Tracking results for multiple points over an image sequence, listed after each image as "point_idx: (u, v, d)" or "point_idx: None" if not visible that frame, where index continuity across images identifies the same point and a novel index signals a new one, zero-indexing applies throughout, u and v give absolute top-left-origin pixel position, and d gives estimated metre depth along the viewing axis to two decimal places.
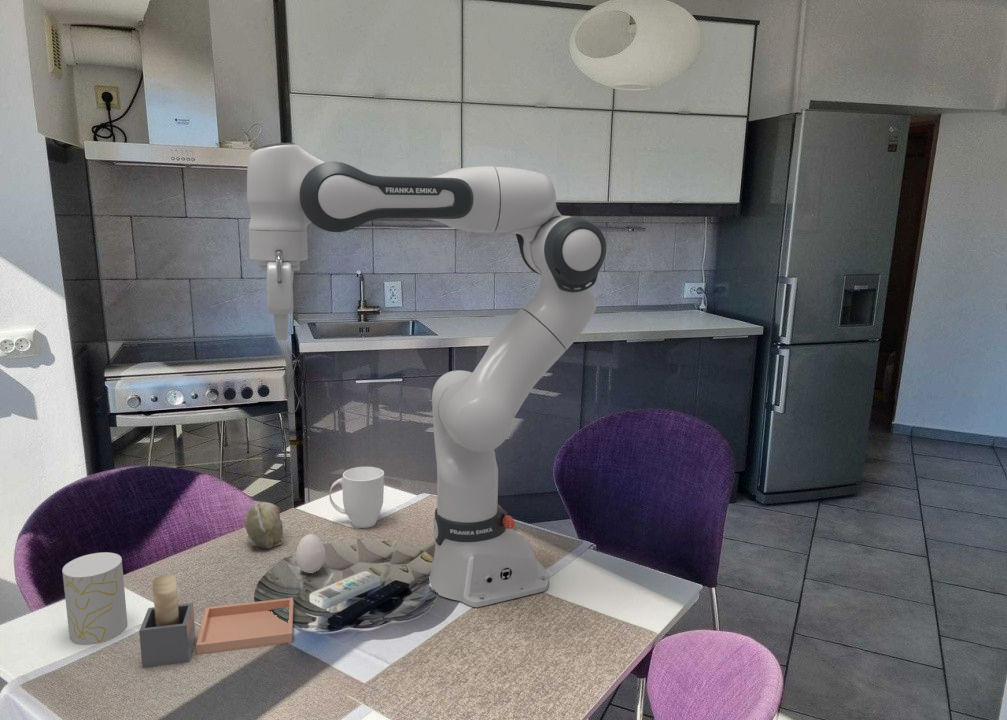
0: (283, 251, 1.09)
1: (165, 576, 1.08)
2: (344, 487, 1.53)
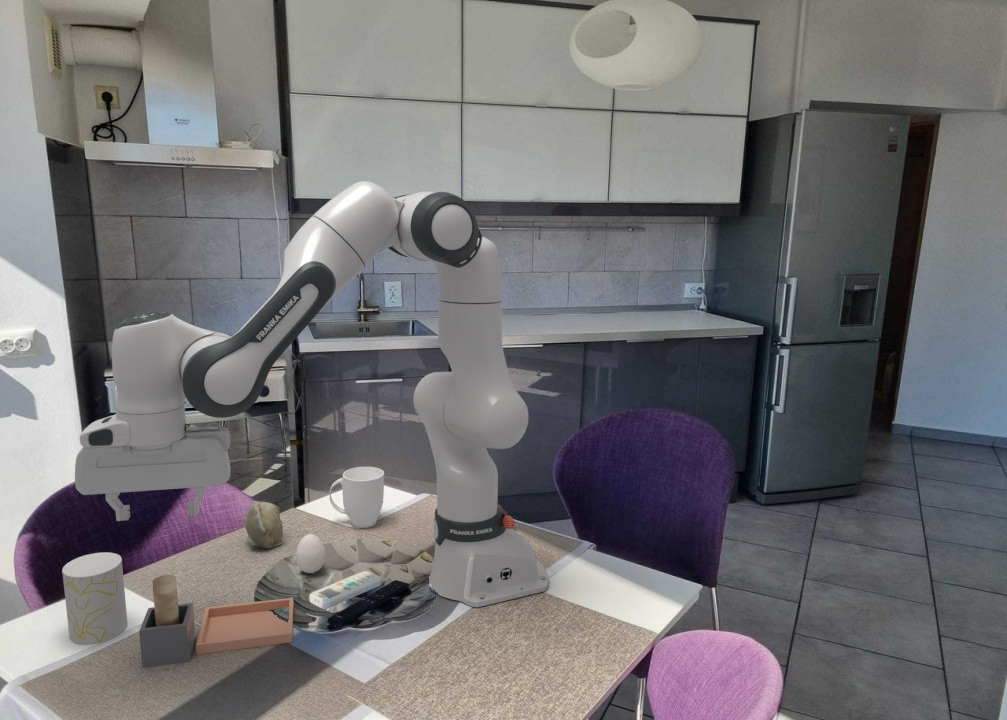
0: (185, 424, 1.04)
1: (165, 576, 1.08)
2: (344, 487, 1.53)
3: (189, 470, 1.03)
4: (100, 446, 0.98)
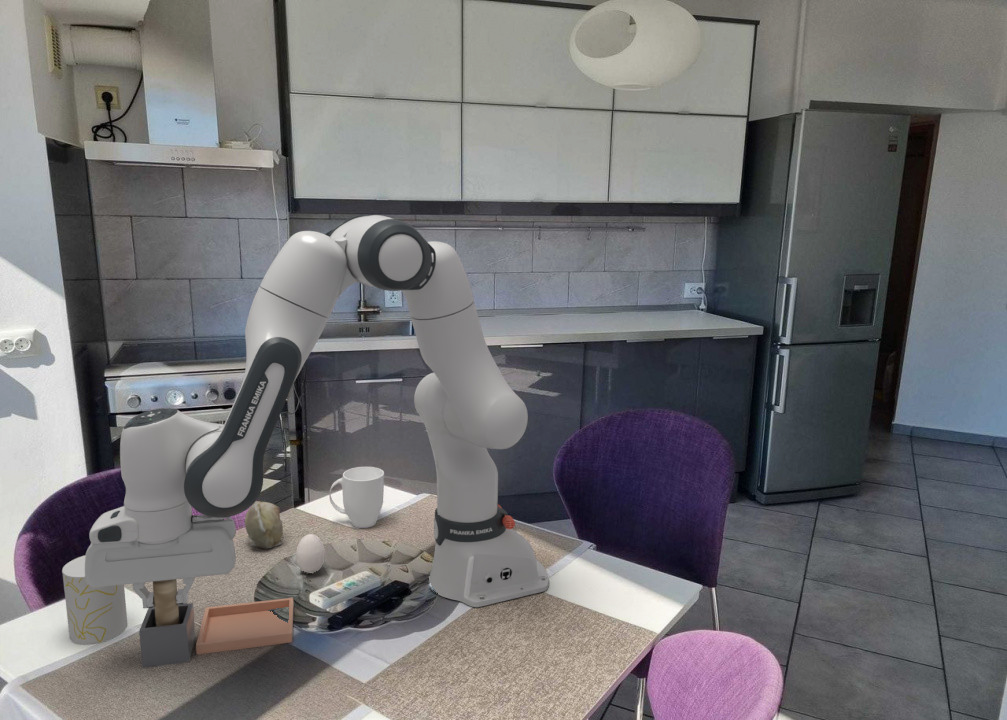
0: (192, 515, 1.07)
1: None
2: (344, 487, 1.53)
3: (196, 560, 1.06)
4: (109, 542, 1.01)
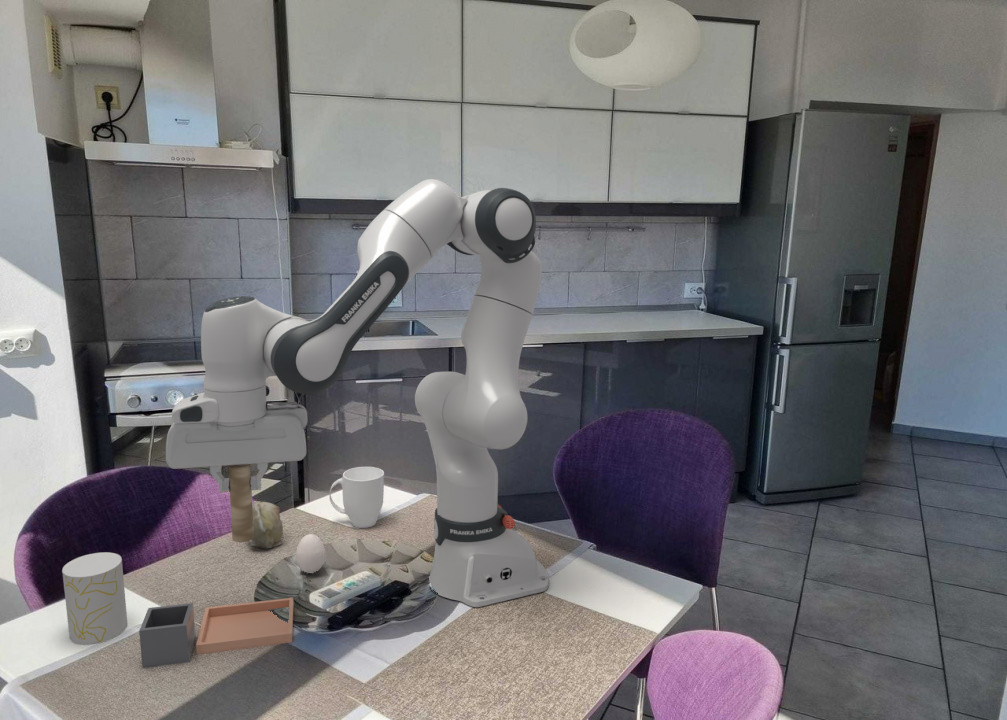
0: None
1: None
2: (344, 487, 1.53)
3: (270, 445, 1.09)
4: (190, 422, 1.04)
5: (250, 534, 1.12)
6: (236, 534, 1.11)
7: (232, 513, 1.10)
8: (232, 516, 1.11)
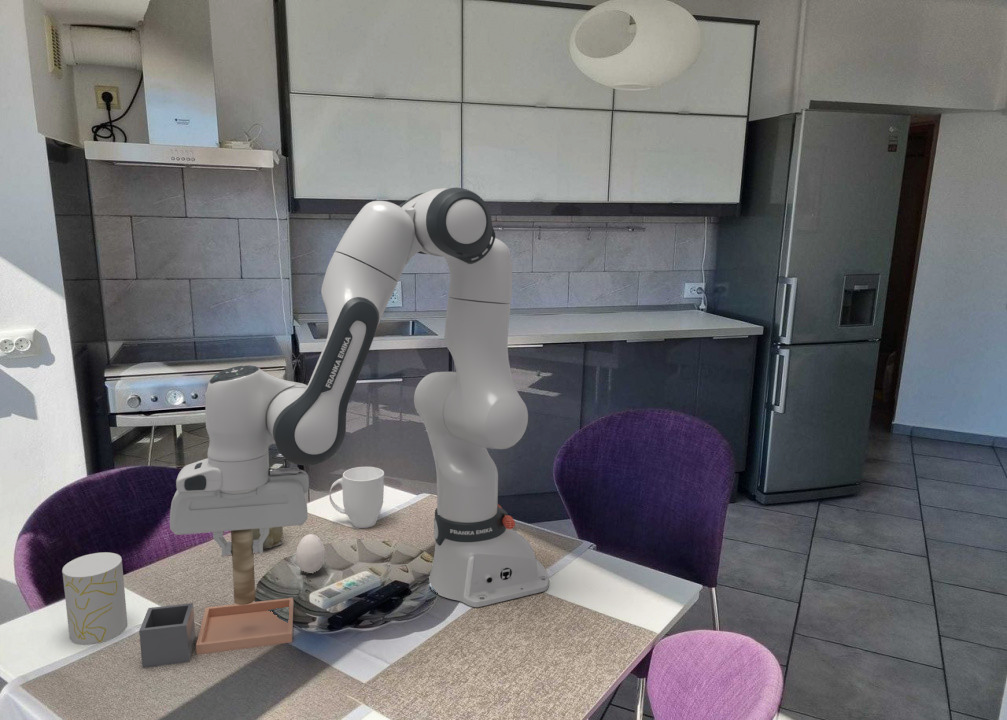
0: None
1: None
2: (344, 487, 1.53)
3: (273, 511, 1.11)
4: (194, 491, 1.06)
5: (252, 597, 1.14)
6: (238, 596, 1.13)
7: (234, 576, 1.12)
8: (234, 579, 1.13)
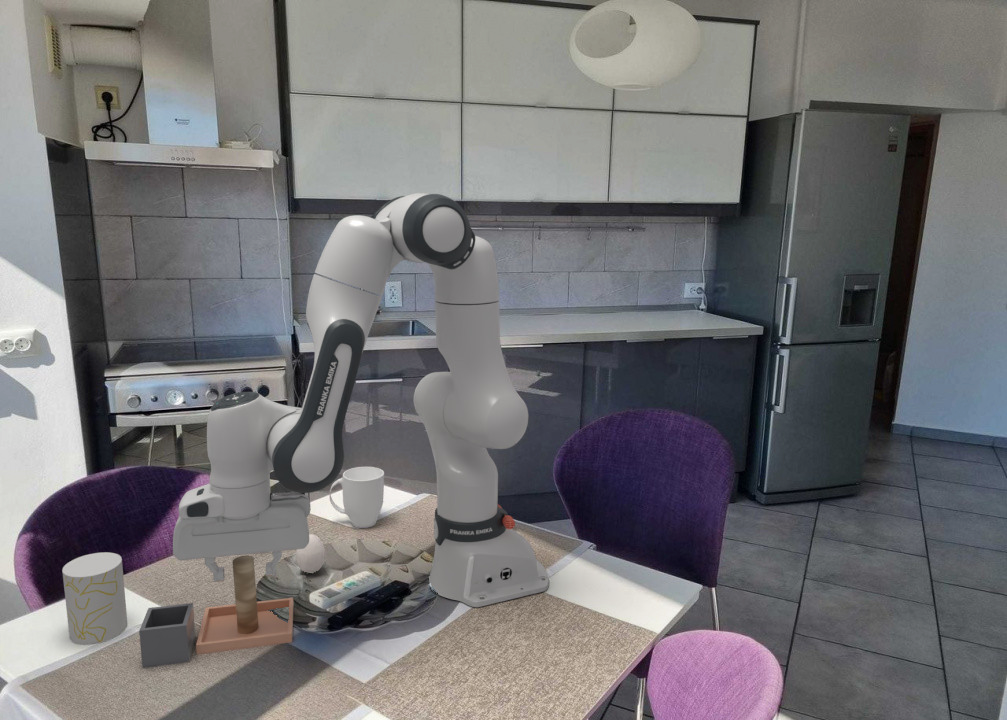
0: (270, 493, 1.13)
1: (243, 557, 1.14)
2: (344, 487, 1.53)
3: (275, 535, 1.12)
4: (197, 517, 1.07)
5: (255, 625, 1.15)
6: (241, 626, 1.14)
7: (237, 606, 1.14)
8: (237, 609, 1.14)
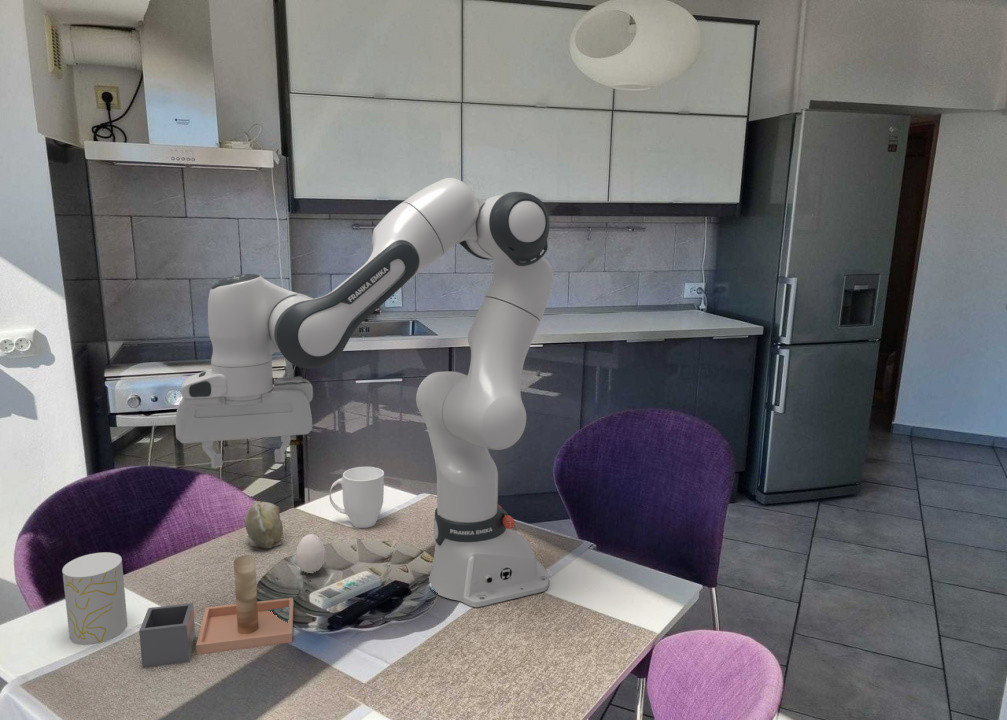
0: None
1: (244, 556, 1.14)
2: (344, 487, 1.53)
3: (278, 420, 1.12)
4: (199, 397, 1.07)
5: (255, 625, 1.15)
6: (241, 626, 1.14)
7: (237, 606, 1.14)
8: (237, 609, 1.14)
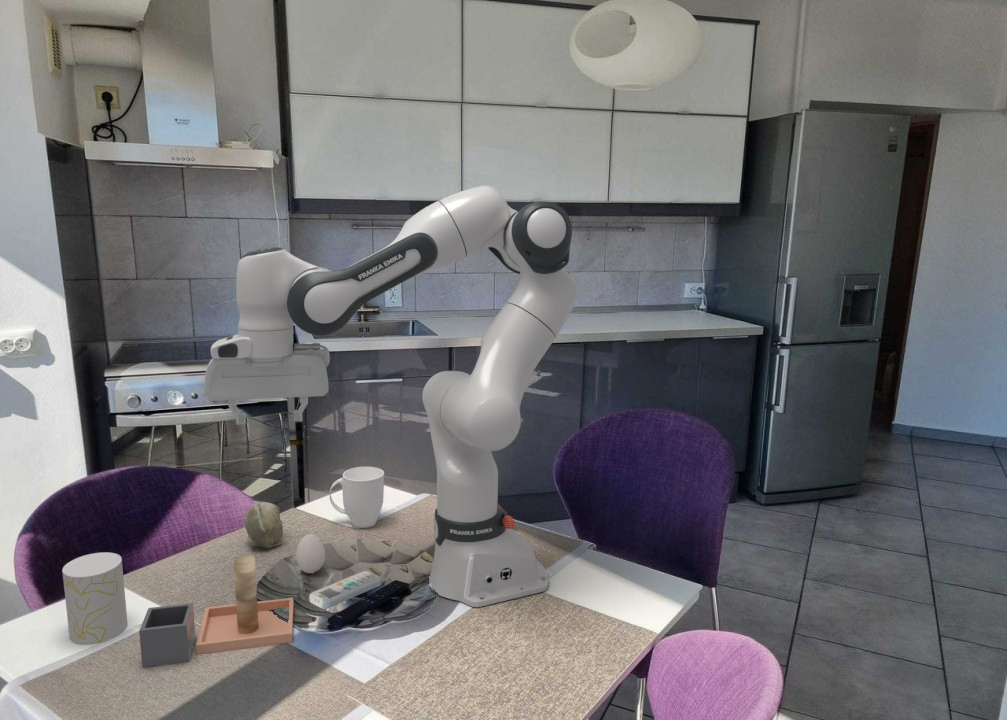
0: None
1: (244, 556, 1.14)
2: (344, 487, 1.53)
3: (297, 381, 1.22)
4: (227, 358, 1.17)
5: (255, 625, 1.15)
6: (241, 626, 1.14)
7: (237, 606, 1.14)
8: (237, 609, 1.14)
